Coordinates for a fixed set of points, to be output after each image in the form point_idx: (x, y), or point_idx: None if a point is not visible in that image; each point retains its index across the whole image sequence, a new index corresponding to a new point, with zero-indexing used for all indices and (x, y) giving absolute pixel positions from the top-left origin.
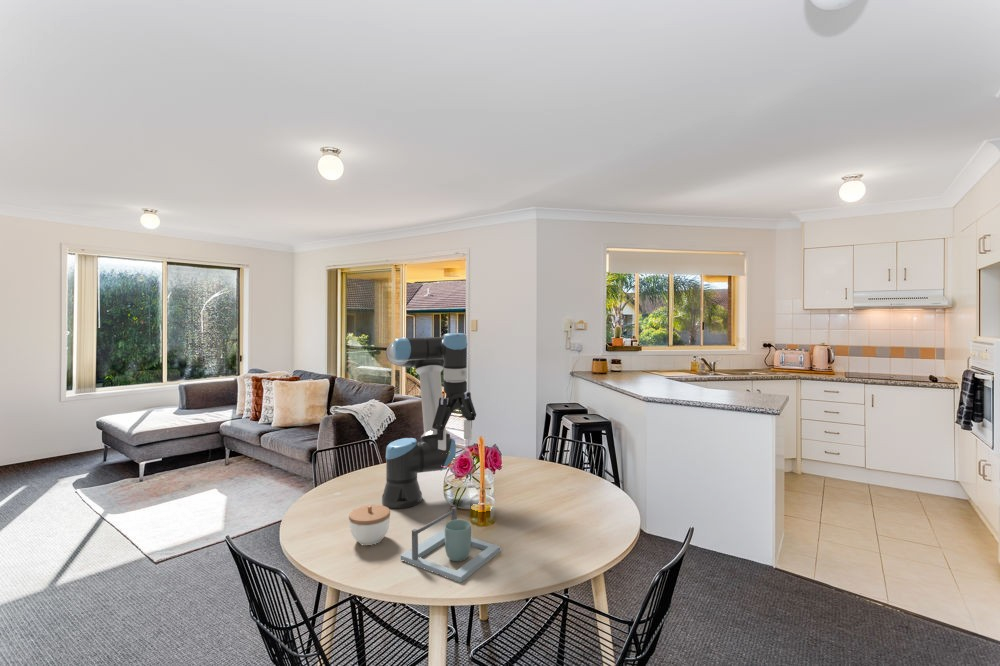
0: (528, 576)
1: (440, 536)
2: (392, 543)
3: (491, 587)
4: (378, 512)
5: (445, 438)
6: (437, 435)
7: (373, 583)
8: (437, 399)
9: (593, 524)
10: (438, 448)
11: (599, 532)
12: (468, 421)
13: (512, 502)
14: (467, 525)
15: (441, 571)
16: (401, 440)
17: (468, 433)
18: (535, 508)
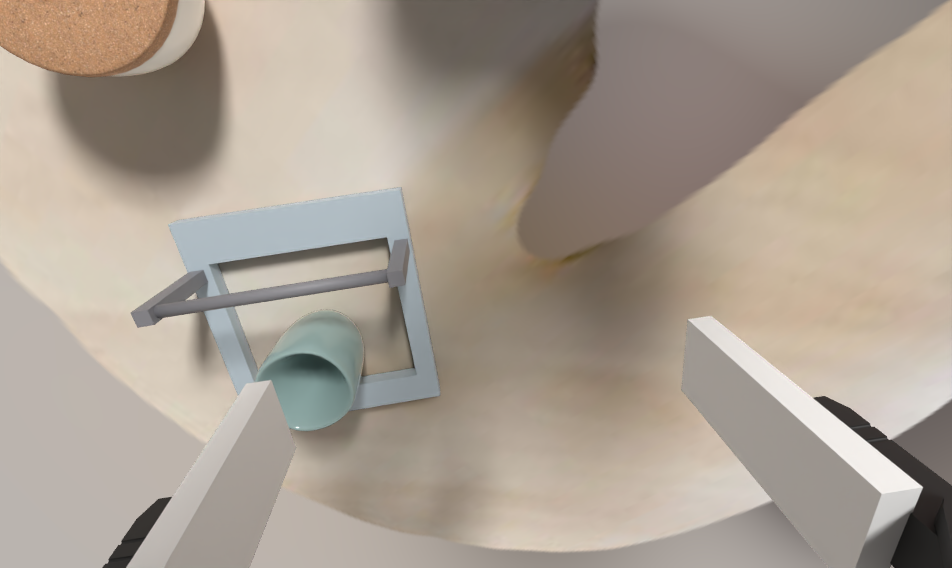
0: (396, 492)
1: (355, 223)
2: (211, 94)
3: (302, 471)
4: (86, 3)
5: (241, 559)
6: (112, 560)
7: (44, 266)
8: None
9: (713, 454)
10: (245, 392)
11: (677, 483)
12: (846, 553)
13: (755, 194)
14: (345, 395)
15: (231, 373)
16: None
17: (721, 413)
18: (742, 287)
